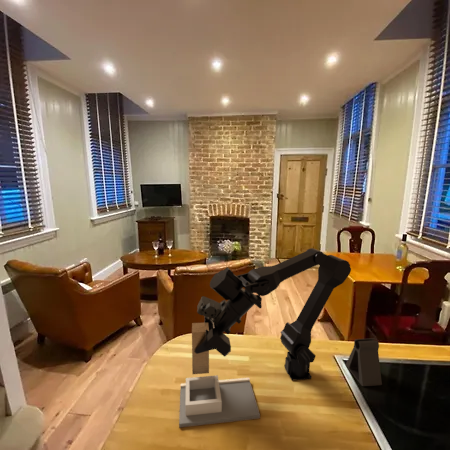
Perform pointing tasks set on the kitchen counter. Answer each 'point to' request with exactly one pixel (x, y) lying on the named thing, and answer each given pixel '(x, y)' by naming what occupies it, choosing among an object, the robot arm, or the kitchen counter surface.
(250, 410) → the grey socket base
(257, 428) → the kitchen counter surface
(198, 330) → the bar
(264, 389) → the kitchen counter surface
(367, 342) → the phone stand
